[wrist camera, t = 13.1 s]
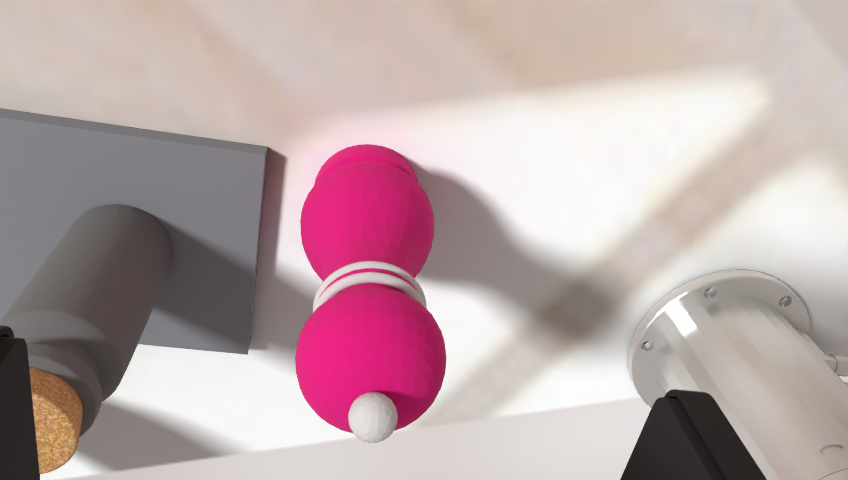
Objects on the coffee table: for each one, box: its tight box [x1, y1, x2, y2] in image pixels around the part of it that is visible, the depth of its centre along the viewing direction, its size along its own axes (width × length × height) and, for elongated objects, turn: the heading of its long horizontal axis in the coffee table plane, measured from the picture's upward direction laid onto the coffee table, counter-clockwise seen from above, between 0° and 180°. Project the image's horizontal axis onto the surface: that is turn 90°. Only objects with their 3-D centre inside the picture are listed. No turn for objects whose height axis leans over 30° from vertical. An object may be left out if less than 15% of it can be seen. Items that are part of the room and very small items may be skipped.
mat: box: [0, 109, 268, 354], centre depth 41 cm, size 16×14×1 cm
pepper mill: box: [295, 144, 446, 443], centre depth 33 cm, size 7×7×20 cm
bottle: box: [0, 204, 173, 474], centre depth 34 cm, size 6×6×15 cm
